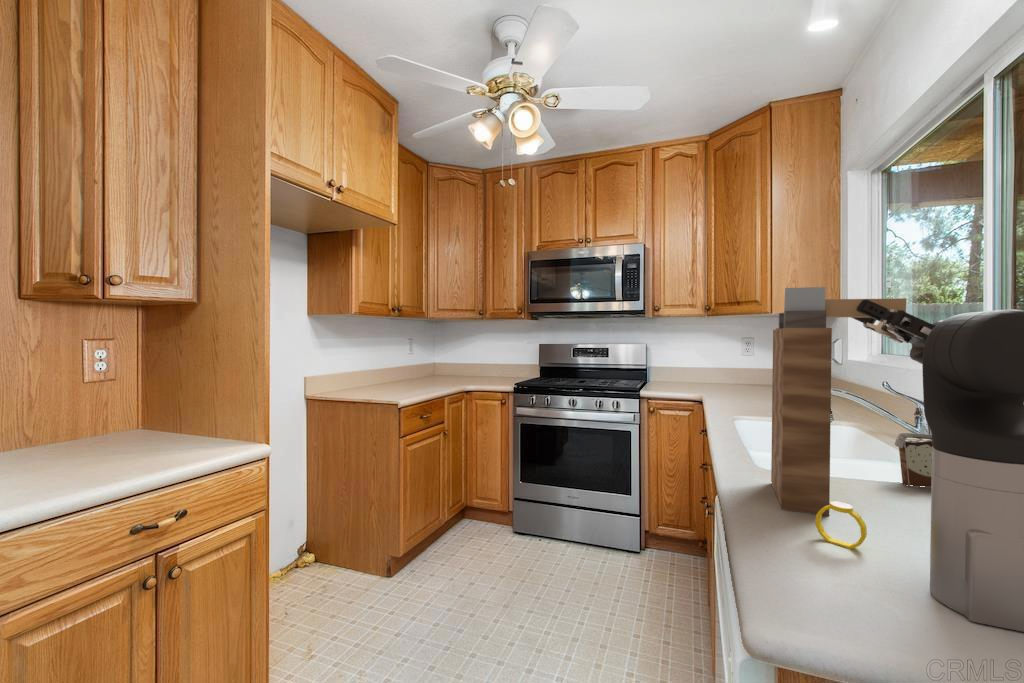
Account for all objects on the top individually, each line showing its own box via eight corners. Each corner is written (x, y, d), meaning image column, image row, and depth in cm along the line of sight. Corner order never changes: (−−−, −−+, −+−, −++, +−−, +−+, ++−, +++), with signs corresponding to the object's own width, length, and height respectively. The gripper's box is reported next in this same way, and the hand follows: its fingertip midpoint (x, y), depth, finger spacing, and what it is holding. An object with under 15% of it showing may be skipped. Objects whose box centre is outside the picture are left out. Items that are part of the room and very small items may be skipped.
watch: (866, 550, 65) (871, 510, 64) (860, 556, 63) (865, 515, 63) (818, 533, 70) (822, 495, 69) (811, 538, 68) (815, 499, 67)
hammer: (907, 328, 72) (909, 285, 72) (783, 327, 81) (785, 288, 81) (898, 329, 78) (900, 288, 77) (783, 327, 86) (784, 291, 86)
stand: (829, 516, 77) (832, 310, 77) (781, 509, 80) (784, 310, 79) (810, 488, 91) (813, 314, 91) (771, 483, 94) (773, 315, 94)
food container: (940, 479, 98) (941, 433, 98) (966, 489, 91) (967, 440, 91) (879, 477, 99) (880, 432, 99) (900, 486, 93) (901, 438, 93)
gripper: (963, 376, 68) (850, 323, 73) (923, 370, 81) (829, 325, 86) (998, 332, 66) (879, 282, 72) (950, 334, 79) (853, 291, 85)
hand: (852, 306), depth 79 cm, fingers open, 8 cm apart
